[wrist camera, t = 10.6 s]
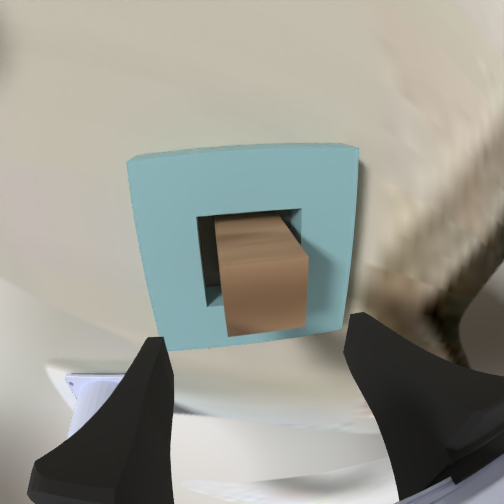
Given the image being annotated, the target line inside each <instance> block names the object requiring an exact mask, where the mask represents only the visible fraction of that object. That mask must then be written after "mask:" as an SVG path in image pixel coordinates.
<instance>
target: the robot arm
mask: <svg viewBox="0 0 504 504" xmlns="http://www.w3.org/2000/svg"><path fill="white" fill-rule="evenodd" d="M343 353H344V356H345V358H346V361H347V364H348V367H349V369H350V372H351V374H352V376H353V378H354V380H355V381H356V383H357V385H358V387H359V389H360V391H361V392H362V394H363V396H364V398H365V400H366V402H367V403H368V405H369V407H370V409H371V411H372V413H373V415H374V417H375V419H376V421H377V424H378V426H379V429H380V432H381V434H382V437H383V440H384V443H385V445H386V449H387V451H388V455H389V458H390V462H391V465H392V469H393V472H394V476H395V481H396V485H397V490H398V495H399V502H397V503H394V504H504V376H497V375H492V374H487V373H483V372H478V371H475V370H472V369H468V368H465V367H462V366H460V365H457V364H454V363H451V362H449V361H446V360H444V359H442V358H440V357H438V356H436V355H433V354H431V353H429V352H427V351H426V350H424V349H422V348H420V347H418V346H417V345H415V344H413V343H411V342H410V341H408V340H407V339H405V338H403V337H402V336H400V335H399V334H397V333H396V332H394V331H392V330H391V329H389V328H388V327H386V326H385V325H383V324H382V323H380V322H379V321H377V320H376V319H374V318H373V317H371V316H370V315H368V314H366V313H365V312H361V313H355V314H350V319H349V325H348V330H347V336H346V341H345V346H344V351H343ZM65 380H66V382H67V384H68V386H69V387H70V389H71V391H72V393H73V394H74V396H75V398H76V399H77V402H76V406H75V409H74V413H73V417H72V420H71V424H70V428H69V432H68V436H67V440H66V441H64V442H63V443H62V444H61V445H59V446H58V447H57V448H55V449H54V450H52V451H50V452H49V453H47V454H46V455H44V456H43V457H41V458H40V459H38V460H36V461H35V463H34V466H33V469H32V473H31V477H30V482H29V487H28V491H27V495H28V496H29V498H30V499H31V501H33V502H34V503H35V504H174V498H173V489H172V478H171V461H170V441H171V430H172V418H173V406H174V374H173V370H172V367H171V363H170V359H169V355H168V352H167V348H166V344H165V340H164V337H148V338H147V339H146V340H145V342H144V344H143V346H142V347H141V349H140V351H139V353H138V354H137V356H136V358H135V359H134V361H133V363H132V364H131V366H130V367H129V369H128V371H127V372H126V374H115V375H93V374H66V376H65Z"/></svg>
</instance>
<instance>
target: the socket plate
mask: <svg viewBox="0 0 504 504" xmlns="http://www.w3.org/2000/svg"><path fill="white" fill-rule="evenodd" d="M358 161H359V148H356V147H353V146H349V145H345V144H340V143H288V144H257V145H238V146H223V147H210V148H198V149H188V150H178V151H169V152H161V153H153V154H145V155H138V156H135V157H133V158H131V159H130V160H128V161H127V162H126V164H127V172H128V180H129V187H130V194H131V201H132V208H133V214H134V220H135V226H136V232H137V237H138V243H139V248H140V253H141V258H142V263H143V268H144V273H145V278H146V282H147V287H148V291H149V296H150V300H151V304H152V309H153V313H154V317H155V321H156V325H157V329H158V332H159V336H160V337H164V340H165V344H166V348H167V351H179V350H192V349H204V348H214V347H224V346H233V345H242V344H251V343H259V342H266V341H274V340H281V339H288V338H294V337H301V336H307V335H313V334H319V333H325V332H331V331H336V330H342V324H343V317H344V311H345V304H346V297H347V289H348V282H349V274H350V265H351V256H352V247H353V237H354V225H355V213H356V199H357V183H358ZM283 209H290V231H291V233H292V234H293V236H294V237H295V238H296V240H297V241H298V243H299V244H300V245H301V247H302V248H303V250H304V251H305V253H306V254H307V255H308V257H309V263H308V286H307V305H306V321H305V327H299V328H292V329H286V330H279V331H272V332H265V333H257V334H250V335H242V336H233V337H228V335H227V327H226V320H225V313H224V305H223V297H222V289H221V286H211V287H206V284H205V276H204V268H203V259H202V250H201V241H200V232H199V222H198V217H199V216H209V215H220V214H232V213H244V212H256V211H269V210H283Z"/></svg>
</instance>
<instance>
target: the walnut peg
mask: <svg viewBox="0 0 504 504" xmlns="http://www.w3.org/2000/svg"><path fill="white" fill-rule="evenodd" d="M214 223H215V234H216V244H217V254H218V264H219V273H220V281H221V289H222V297H223V305H224V313H225V320H226V327H227V335H228V337H233V336H242V335H250V334H257V333H265V332H272V331H279V330H286V329H292V328H299V327H305V321H306V305H307V286H308V263H309V257H308V255H307V254H306V253H305V251H304V250H303V248H302V247H301V245H300V244H299V243H298V241H297V240H296V238H295V237H294V236H293V234H292V233H291V231H290V230H289V229H288V227H287V226H286V224H285V223H284V222H283V220H282V219H281V218H280V216H279V215H278V213H277V212H276V211H266V212H254V213H243V214H232V215H222V216H214Z"/></svg>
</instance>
